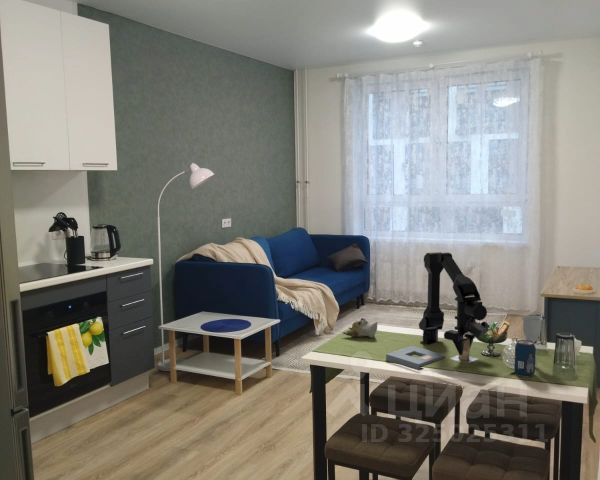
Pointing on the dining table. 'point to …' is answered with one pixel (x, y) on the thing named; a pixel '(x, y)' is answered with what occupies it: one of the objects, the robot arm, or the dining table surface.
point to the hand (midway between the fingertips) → (464, 353)
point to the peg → (465, 350)
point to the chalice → (532, 328)
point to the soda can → (525, 358)
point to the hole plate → (412, 362)
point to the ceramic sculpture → (362, 329)
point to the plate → (464, 360)
